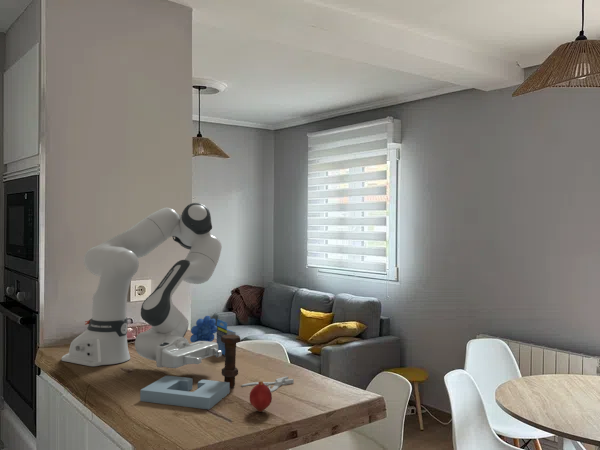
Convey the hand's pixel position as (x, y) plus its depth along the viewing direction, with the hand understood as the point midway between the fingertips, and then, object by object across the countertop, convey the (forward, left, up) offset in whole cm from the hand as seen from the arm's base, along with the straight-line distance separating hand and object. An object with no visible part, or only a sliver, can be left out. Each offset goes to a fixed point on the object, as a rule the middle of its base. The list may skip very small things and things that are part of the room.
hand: (210, 357), depth 163 cm
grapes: (-21, +39, -8) cm, 45 cm away
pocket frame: (-1, -15, -7) cm, 17 cm away
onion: (+22, -19, -8) cm, 30 cm away
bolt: (+7, -3, -8) cm, 11 cm away
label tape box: (-9, +33, -8) cm, 35 cm away
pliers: (+19, +2, -8) cm, 20 cm away
